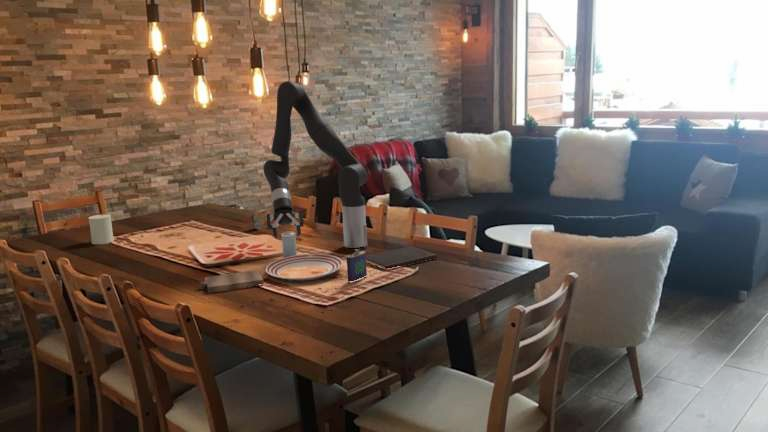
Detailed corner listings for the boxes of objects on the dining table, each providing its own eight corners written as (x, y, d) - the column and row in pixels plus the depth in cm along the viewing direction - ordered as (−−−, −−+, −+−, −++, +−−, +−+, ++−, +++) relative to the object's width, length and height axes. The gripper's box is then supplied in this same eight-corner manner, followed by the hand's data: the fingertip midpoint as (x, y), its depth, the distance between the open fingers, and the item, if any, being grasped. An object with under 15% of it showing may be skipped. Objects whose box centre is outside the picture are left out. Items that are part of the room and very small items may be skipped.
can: (118, 239, 292) (114, 213, 289) (107, 244, 283) (104, 217, 280) (98, 239, 293) (95, 213, 290) (87, 244, 284) (83, 217, 281)
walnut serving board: (257, 275, 230) (256, 270, 229) (263, 285, 219) (263, 279, 218) (198, 283, 223) (197, 278, 222) (201, 294, 212) (201, 288, 211)
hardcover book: (362, 262, 243) (361, 256, 242) (411, 251, 255) (411, 246, 255) (385, 272, 230) (385, 266, 229) (437, 260, 242) (436, 254, 241)
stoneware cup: (297, 256, 253) (295, 231, 251) (297, 259, 247) (295, 234, 245) (283, 257, 252) (281, 232, 250) (282, 260, 247) (280, 235, 245)
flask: (362, 275, 226) (361, 245, 223) (369, 276, 224) (368, 246, 221) (345, 282, 218) (344, 251, 216) (352, 284, 217) (351, 253, 214)
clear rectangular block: (254, 231, 297) (253, 213, 295) (249, 230, 299) (248, 212, 297) (278, 224, 309) (277, 207, 307) (273, 224, 311) (272, 206, 309)
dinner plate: (322, 288, 214) (321, 278, 213) (251, 281, 224) (250, 272, 223) (355, 265, 239) (355, 256, 238) (290, 260, 248) (289, 251, 248)
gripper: (264, 198, 254) (269, 233, 246) (300, 195, 258) (306, 229, 249) (263, 208, 260) (268, 243, 252) (299, 205, 264) (305, 239, 255)
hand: (287, 236), depth 250 cm, fingers open, 8 cm apart
